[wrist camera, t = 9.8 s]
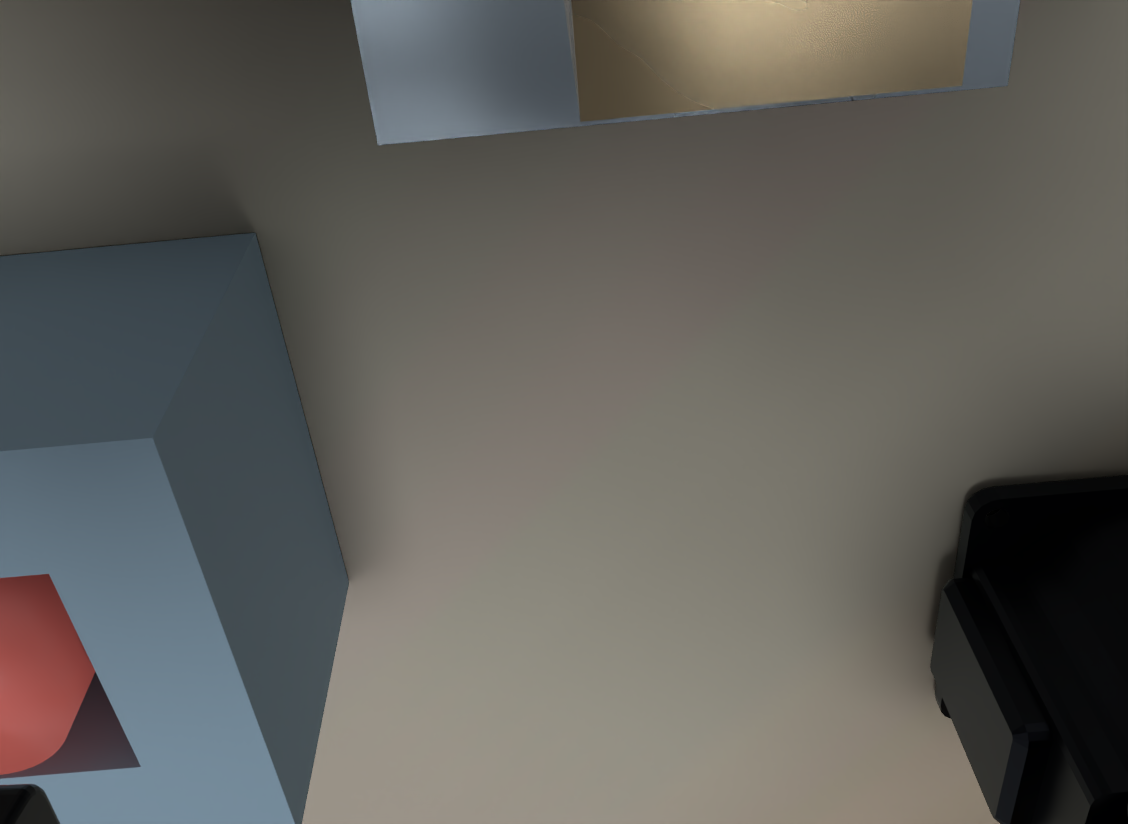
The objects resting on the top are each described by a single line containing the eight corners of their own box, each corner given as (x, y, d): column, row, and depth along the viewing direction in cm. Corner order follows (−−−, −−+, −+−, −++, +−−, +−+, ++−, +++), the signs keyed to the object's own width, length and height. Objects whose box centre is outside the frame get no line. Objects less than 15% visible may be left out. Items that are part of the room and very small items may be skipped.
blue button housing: (255, 232, 18) (152, 438, 13) (349, 582, 22) (299, 835, 17) (-211, 275, 18) (-489, 494, 13) (-26, 614, 23) (-182, 874, 18)
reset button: (136, 404, 18) (22, 612, 14) (188, 545, 20) (101, 767, 16) (-48, 421, 18) (-215, 632, 14) (21, 560, 20) (-110, 783, 16)
